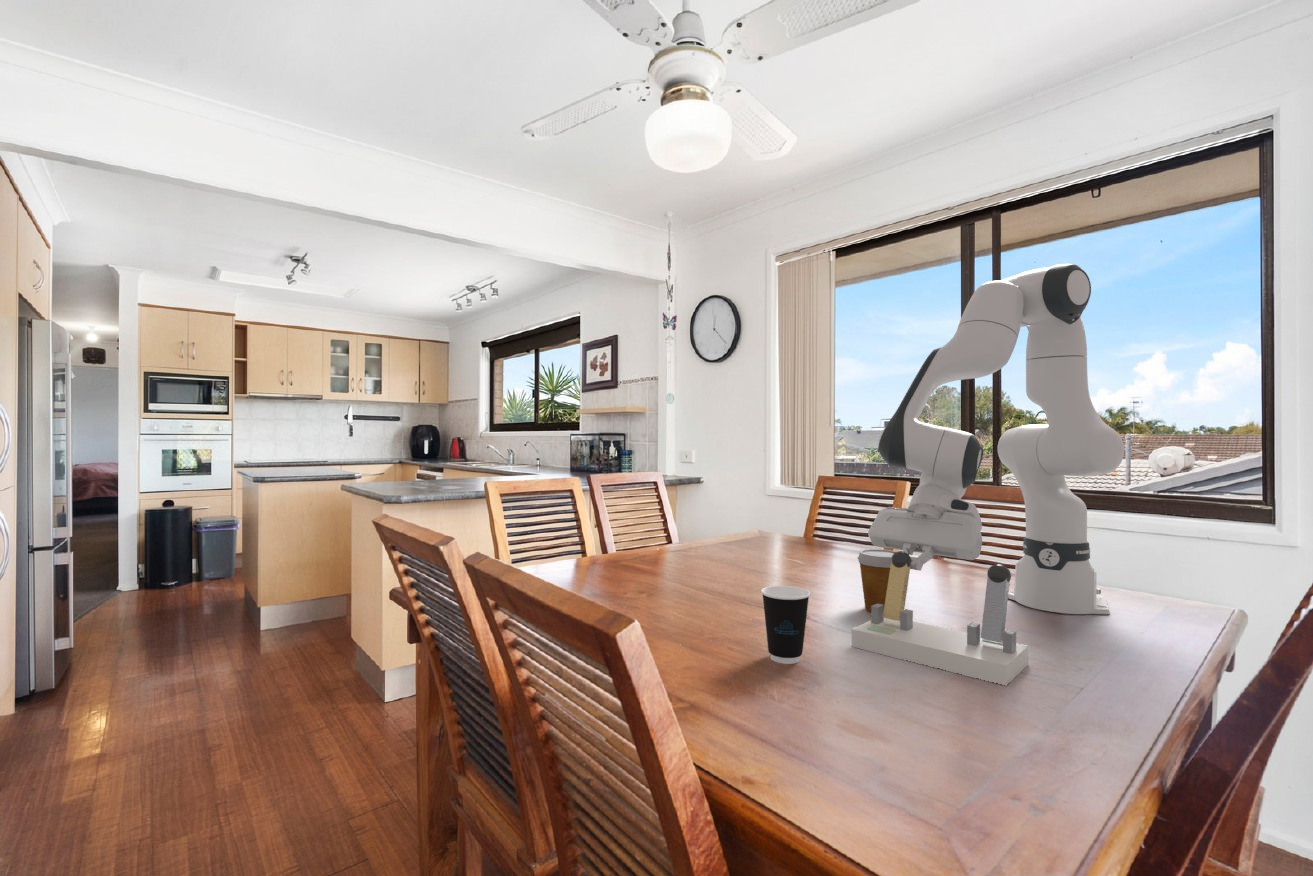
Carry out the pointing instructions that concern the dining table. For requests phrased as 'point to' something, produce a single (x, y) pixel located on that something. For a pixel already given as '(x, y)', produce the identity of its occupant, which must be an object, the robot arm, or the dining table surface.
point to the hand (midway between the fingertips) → (911, 567)
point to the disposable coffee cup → (875, 575)
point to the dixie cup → (785, 621)
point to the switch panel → (942, 646)
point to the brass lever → (897, 585)
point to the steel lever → (996, 603)
